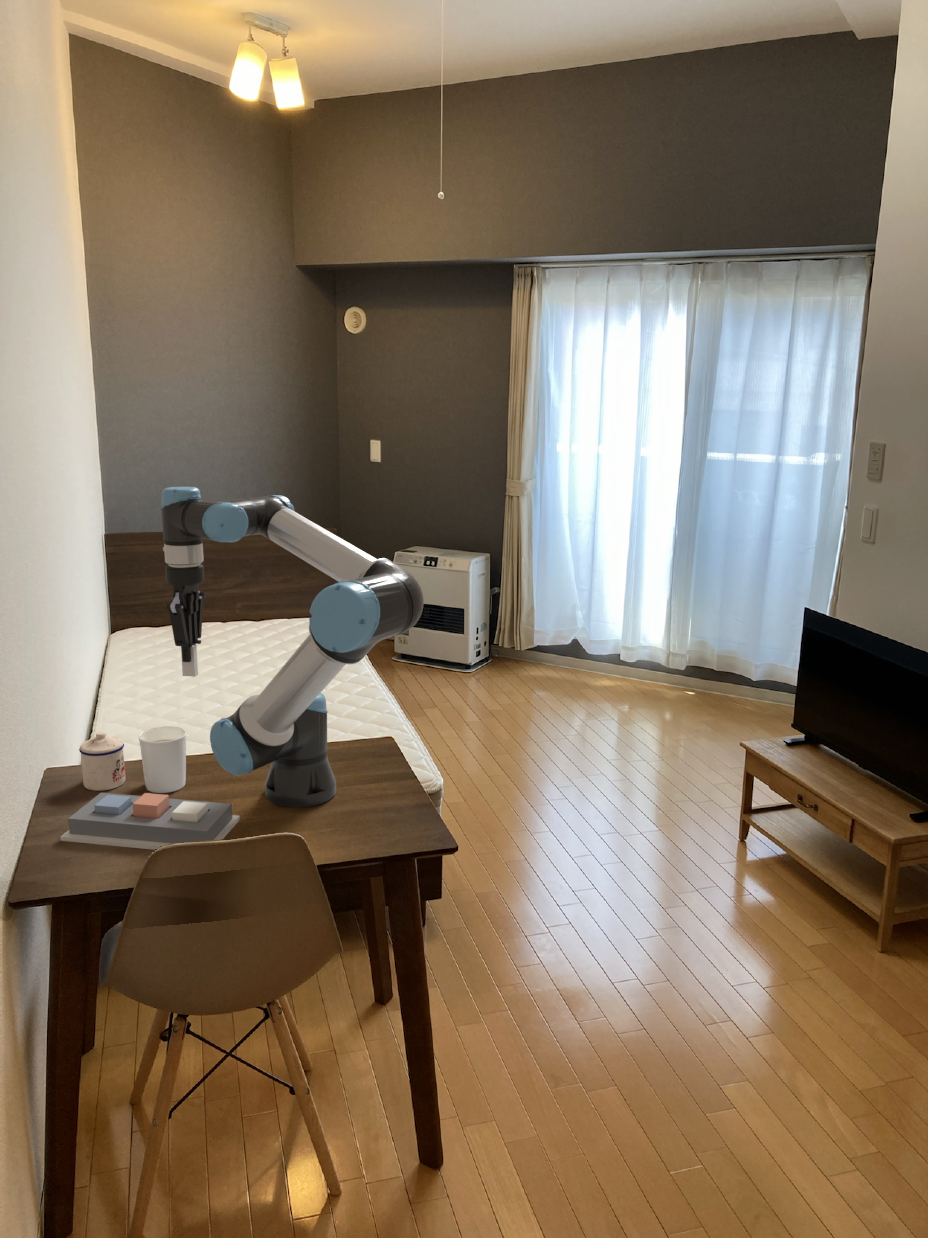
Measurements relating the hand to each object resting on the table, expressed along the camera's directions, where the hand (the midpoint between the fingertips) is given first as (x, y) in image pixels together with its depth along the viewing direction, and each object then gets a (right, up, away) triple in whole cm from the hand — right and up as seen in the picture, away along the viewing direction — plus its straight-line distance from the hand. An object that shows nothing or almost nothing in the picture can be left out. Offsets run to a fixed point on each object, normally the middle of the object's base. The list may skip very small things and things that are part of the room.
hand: (190, 675), depth 193 cm
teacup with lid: (-22, -24, +11) cm, 35 cm away
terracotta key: (-4, -26, -12) cm, 29 cm away
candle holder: (-8, -25, +9) cm, 28 cm away
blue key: (-12, -27, -10) cm, 31 cm away
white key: (+4, -28, -13) cm, 31 cm away
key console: (-4, -30, -11) cm, 32 cm away
